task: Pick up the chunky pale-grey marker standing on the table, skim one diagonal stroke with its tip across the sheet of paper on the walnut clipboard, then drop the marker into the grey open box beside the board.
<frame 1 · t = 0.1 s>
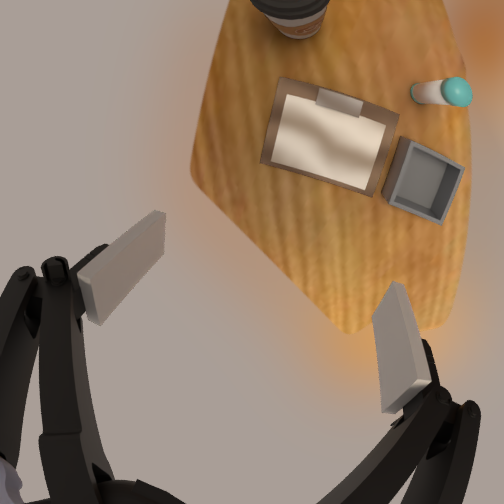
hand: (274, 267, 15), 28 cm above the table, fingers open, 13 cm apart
grey open box: (417, 175, 35), on the table
coffee cup: (298, 21, 28), on the table
marker: (419, 93, 29), on the table
clipboard: (329, 135, 36), on the table
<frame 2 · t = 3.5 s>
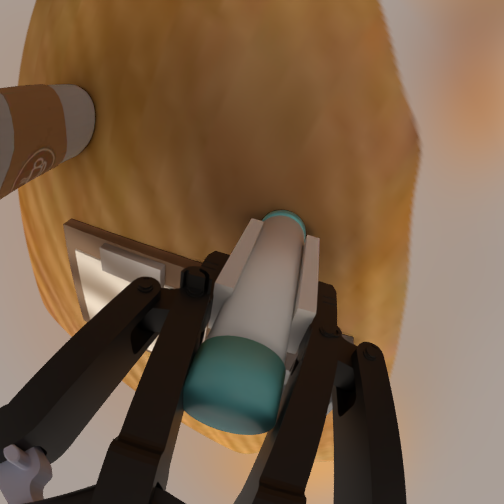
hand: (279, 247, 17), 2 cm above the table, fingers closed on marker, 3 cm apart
grey open box: (286, 356, 25), on the table
coffee cup: (73, 119, 18), on the table
marker: (282, 231, 19), on the table, touching gripper
clipboard: (143, 300, 25), on the table
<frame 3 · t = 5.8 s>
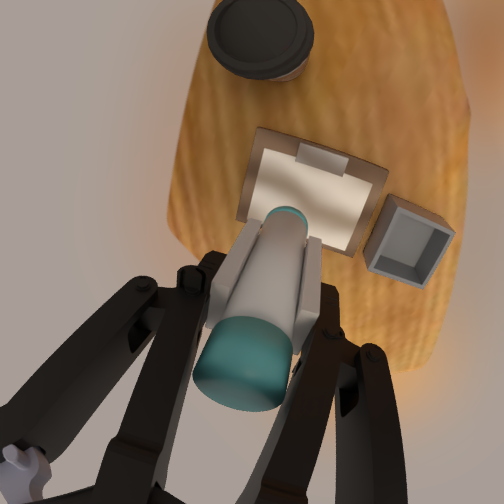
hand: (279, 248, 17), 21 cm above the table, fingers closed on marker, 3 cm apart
grey open box: (403, 234, 35), on the table
coffee cup: (281, 58, 28), on the table
marker: (286, 226, 20), point 17 cm above the table, touching gripper
clipboard: (310, 192, 35), on the table
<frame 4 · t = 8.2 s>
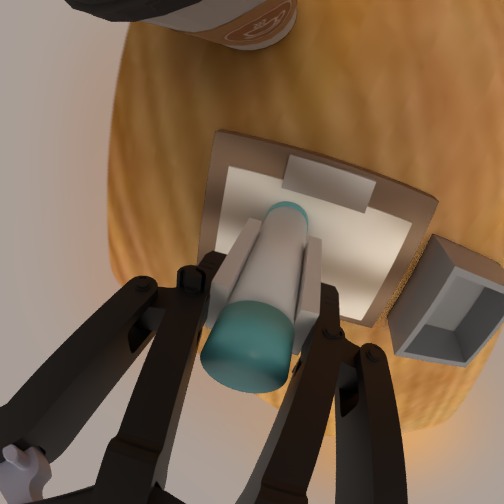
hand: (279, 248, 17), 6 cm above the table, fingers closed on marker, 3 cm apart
grey open box: (446, 290, 21), on the table
coffee cup: (253, 15, 14), on the table
marker: (287, 221, 20), point 1 cm above the table, touching gripper
clipboard: (309, 235, 22), on the table
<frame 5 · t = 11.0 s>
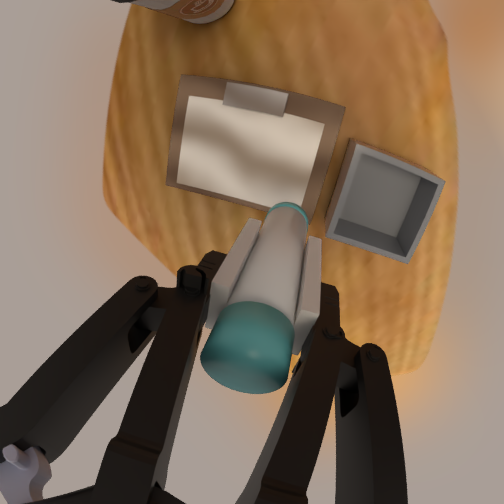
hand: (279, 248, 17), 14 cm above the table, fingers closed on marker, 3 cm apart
grey open box: (377, 192, 27), on the table
coffee cup: (208, 2, 20), on the table
marker: (287, 221, 20), point 10 cm above the table, touching gripper
clipboard: (248, 143, 28), on the table
when the fingers open (7 cm above the table, at t = 13.2 s): marker drops 3 cm, resting on grey open box.
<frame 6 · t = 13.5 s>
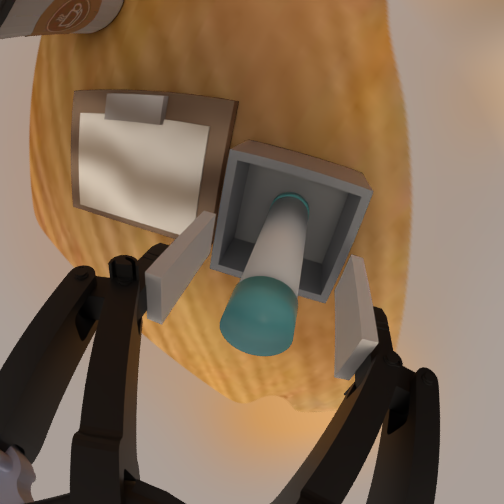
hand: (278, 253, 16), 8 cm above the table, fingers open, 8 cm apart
grey open box: (291, 207, 23), on the table
coffee cup: (102, 7, 16), on the table
marker: (290, 210, 22), point 1 cm above the table, touching grey open box
clipboard: (139, 158, 23), on the table
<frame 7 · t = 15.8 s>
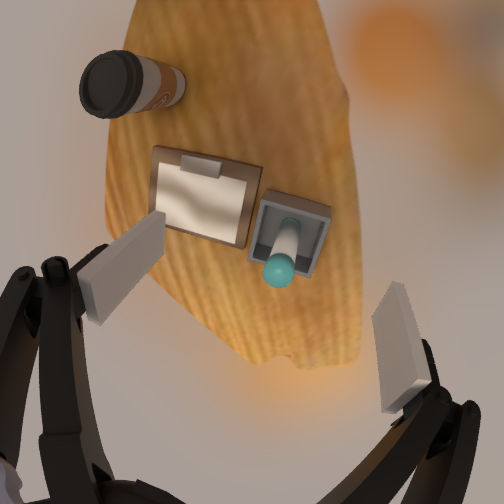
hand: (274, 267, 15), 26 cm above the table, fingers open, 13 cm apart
grey open box: (291, 226, 41), on the table
coffee cup: (168, 86, 35), on the table
marker: (290, 227, 41), resting on grey open box
clipboard: (200, 195, 42), on the table
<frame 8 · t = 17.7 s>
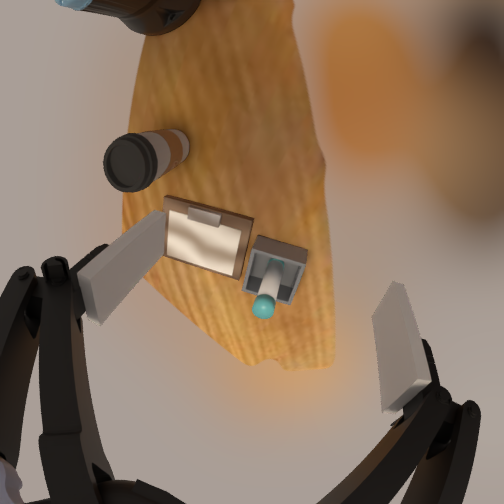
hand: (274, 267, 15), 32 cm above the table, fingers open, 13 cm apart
grey open box: (276, 263, 52), on the table
coffee cup: (175, 146, 45), on the table
marker: (276, 264, 52), resting on grey open box
clipboard: (204, 236, 53), on the table
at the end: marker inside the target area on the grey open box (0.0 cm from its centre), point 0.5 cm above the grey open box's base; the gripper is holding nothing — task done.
